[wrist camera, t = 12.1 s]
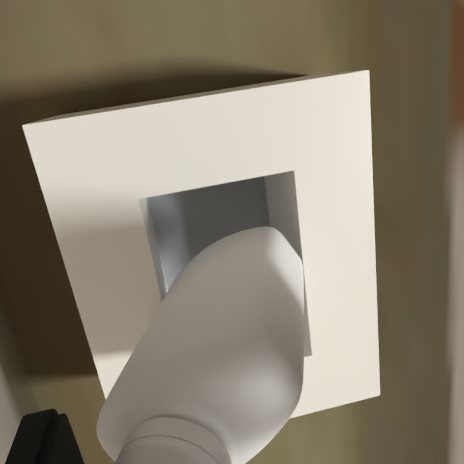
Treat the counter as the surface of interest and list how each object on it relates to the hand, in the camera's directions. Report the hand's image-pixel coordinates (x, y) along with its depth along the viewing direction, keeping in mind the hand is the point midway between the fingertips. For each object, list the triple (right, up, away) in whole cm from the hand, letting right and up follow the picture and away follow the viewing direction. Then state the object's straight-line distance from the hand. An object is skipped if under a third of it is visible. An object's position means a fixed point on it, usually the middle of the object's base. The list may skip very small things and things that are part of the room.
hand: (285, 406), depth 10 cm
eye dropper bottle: (-1, +2, +8) cm, 8 cm away
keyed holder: (-2, +4, +12) cm, 13 cm away
